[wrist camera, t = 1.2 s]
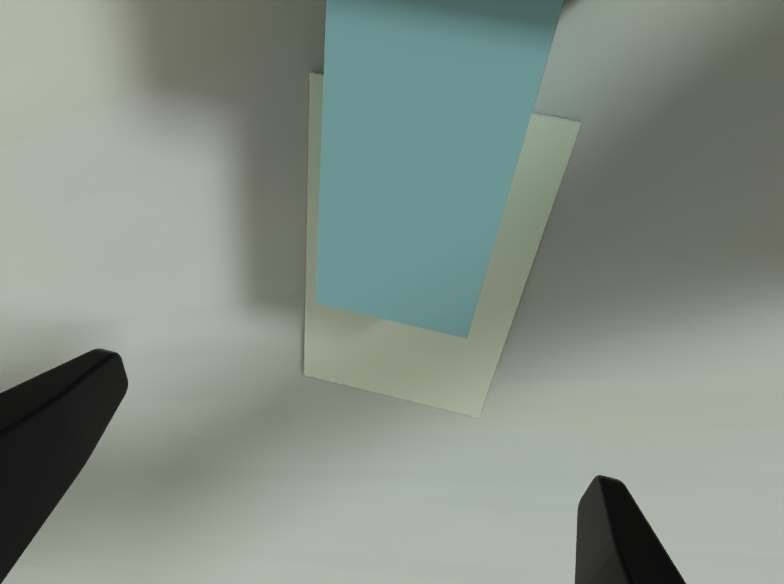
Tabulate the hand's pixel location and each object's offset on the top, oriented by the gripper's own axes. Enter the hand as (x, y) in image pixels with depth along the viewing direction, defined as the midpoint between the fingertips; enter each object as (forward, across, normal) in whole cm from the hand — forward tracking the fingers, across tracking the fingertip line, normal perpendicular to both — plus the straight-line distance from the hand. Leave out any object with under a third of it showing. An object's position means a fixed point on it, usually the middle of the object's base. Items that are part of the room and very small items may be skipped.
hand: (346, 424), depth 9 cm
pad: (+10, 0, +3) cm, 10 cm away
